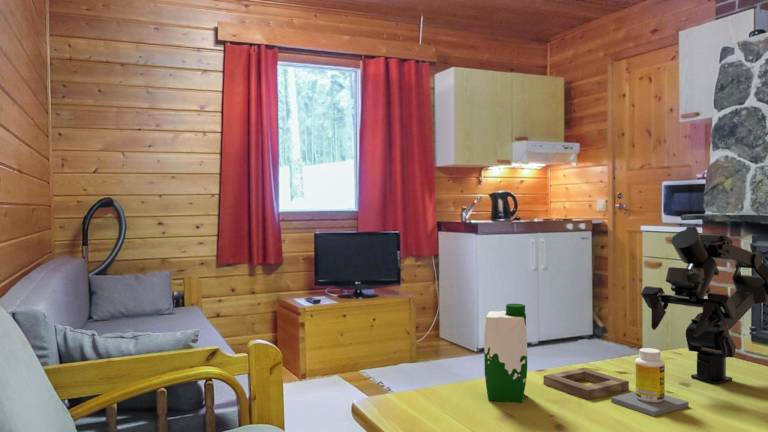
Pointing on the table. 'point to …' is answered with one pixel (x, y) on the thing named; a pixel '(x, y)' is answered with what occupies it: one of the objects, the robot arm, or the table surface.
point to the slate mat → (650, 404)
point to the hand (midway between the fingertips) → (673, 332)
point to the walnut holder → (600, 388)
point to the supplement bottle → (649, 376)
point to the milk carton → (506, 354)
